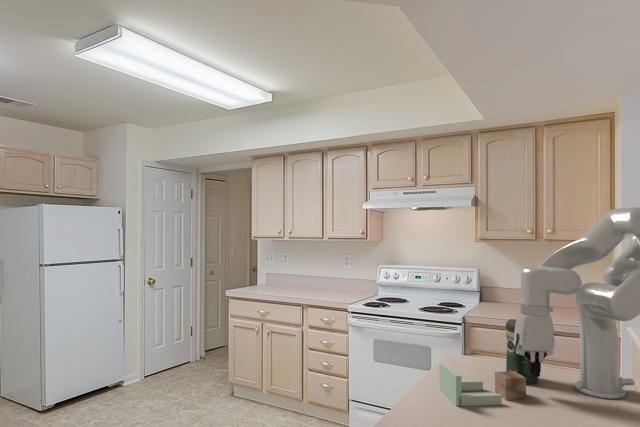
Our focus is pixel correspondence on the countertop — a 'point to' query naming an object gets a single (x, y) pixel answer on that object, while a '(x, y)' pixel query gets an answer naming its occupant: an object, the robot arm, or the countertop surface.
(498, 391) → the walnut block
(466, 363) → the countertop surface
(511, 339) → the coffee jar
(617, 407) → the countertop surface
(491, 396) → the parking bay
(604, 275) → the robot arm
